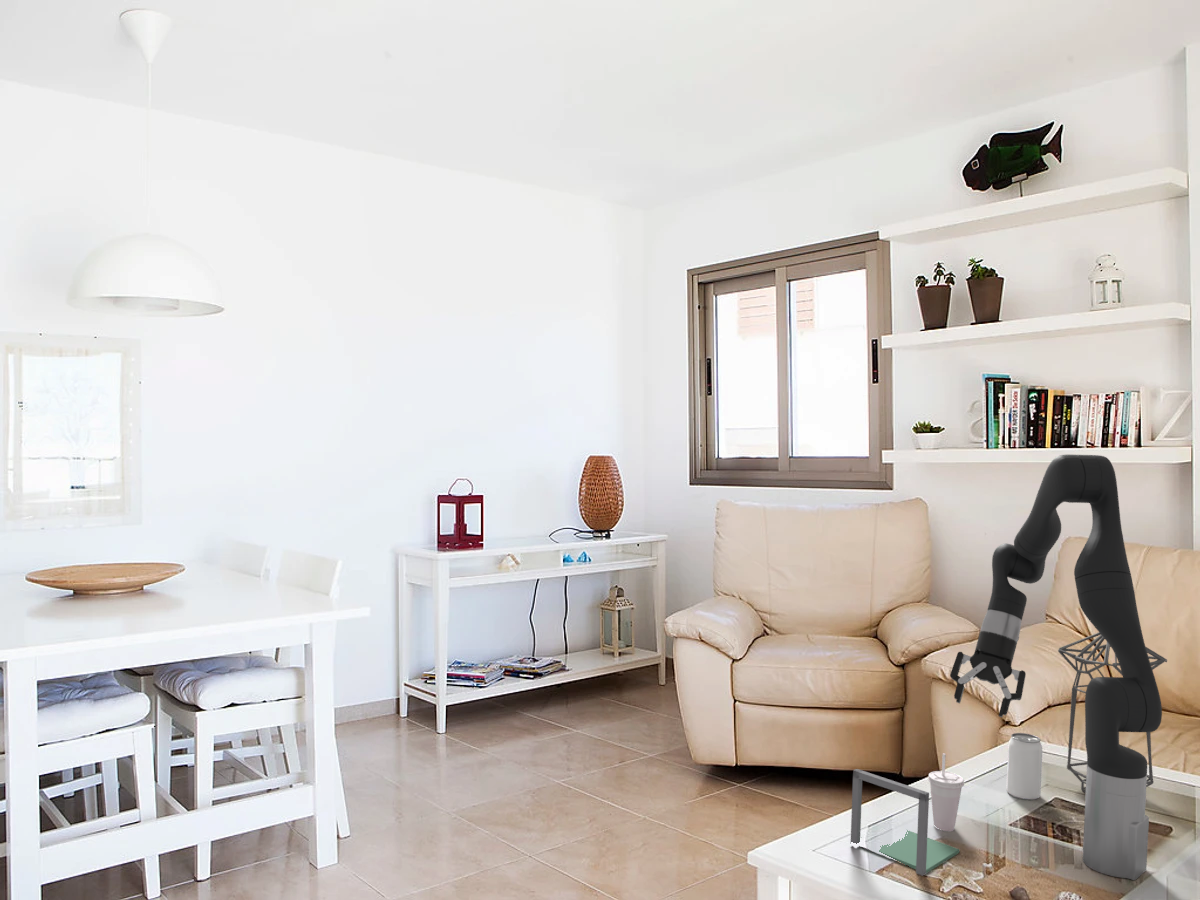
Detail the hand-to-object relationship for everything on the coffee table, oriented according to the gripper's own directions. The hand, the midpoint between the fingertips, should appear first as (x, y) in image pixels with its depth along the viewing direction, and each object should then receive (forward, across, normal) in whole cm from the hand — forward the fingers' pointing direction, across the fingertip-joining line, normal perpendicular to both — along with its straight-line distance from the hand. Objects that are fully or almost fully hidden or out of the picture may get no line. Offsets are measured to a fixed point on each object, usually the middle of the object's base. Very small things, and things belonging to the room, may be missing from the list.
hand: (979, 709), depth 200 cm
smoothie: (+25, 0, -15) cm, 29 cm away
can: (+13, +12, +8) cm, 19 cm away
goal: (+30, -4, -27) cm, 41 cm away
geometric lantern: (+7, +26, +16) cm, 32 cm away
